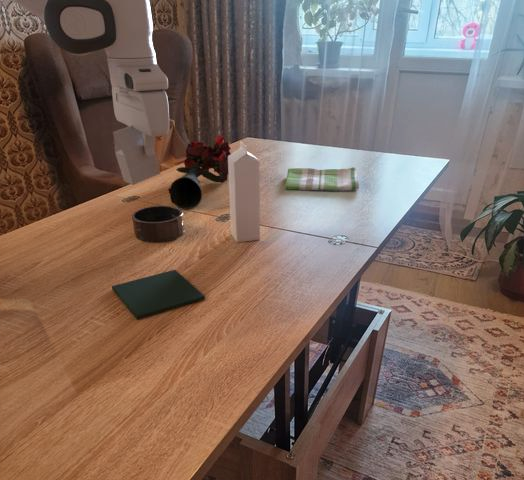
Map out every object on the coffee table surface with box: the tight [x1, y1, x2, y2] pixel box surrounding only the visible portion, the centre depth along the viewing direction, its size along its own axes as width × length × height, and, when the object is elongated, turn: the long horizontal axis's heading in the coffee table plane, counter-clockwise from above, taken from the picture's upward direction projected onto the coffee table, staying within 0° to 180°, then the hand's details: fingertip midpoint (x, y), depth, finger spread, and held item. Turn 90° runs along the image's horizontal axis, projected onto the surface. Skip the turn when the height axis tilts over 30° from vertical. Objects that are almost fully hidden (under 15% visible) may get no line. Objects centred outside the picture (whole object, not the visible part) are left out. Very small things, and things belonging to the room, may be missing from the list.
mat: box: [111, 269, 206, 320], centre depth 96 cm, size 14×14×1 cm
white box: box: [112, 126, 161, 186], centre depth 97 cm, size 4×7×10 cm, turn 133°
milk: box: [228, 140, 261, 243], centre depth 114 cm, size 6×6×22 cm
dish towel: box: [284, 166, 360, 191], centre depth 156 cm, size 17×23×4 cm
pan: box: [131, 205, 185, 244], centre depth 121 cm, size 12×12×5 cm
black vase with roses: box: [168, 135, 232, 211], centre depth 147 cm, size 16×18×35 cm
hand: (144, 152), depth 98 cm, fingers closed on white box, 4 cm apart
